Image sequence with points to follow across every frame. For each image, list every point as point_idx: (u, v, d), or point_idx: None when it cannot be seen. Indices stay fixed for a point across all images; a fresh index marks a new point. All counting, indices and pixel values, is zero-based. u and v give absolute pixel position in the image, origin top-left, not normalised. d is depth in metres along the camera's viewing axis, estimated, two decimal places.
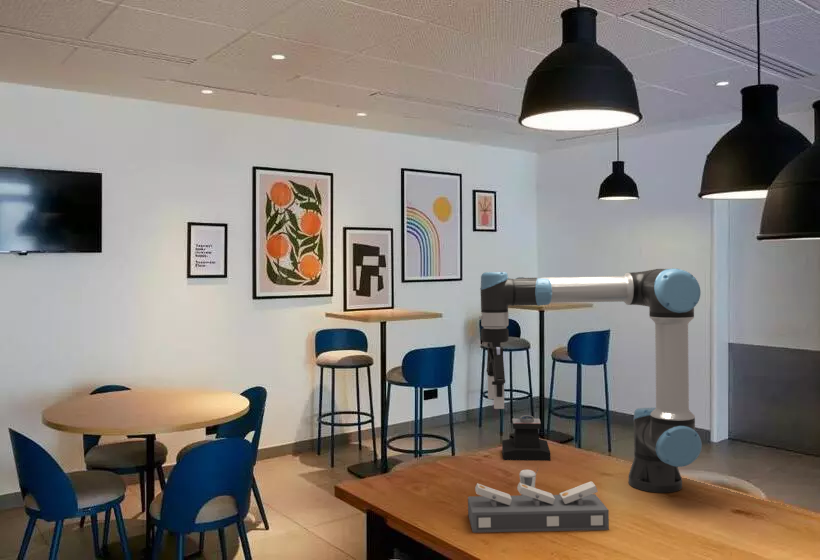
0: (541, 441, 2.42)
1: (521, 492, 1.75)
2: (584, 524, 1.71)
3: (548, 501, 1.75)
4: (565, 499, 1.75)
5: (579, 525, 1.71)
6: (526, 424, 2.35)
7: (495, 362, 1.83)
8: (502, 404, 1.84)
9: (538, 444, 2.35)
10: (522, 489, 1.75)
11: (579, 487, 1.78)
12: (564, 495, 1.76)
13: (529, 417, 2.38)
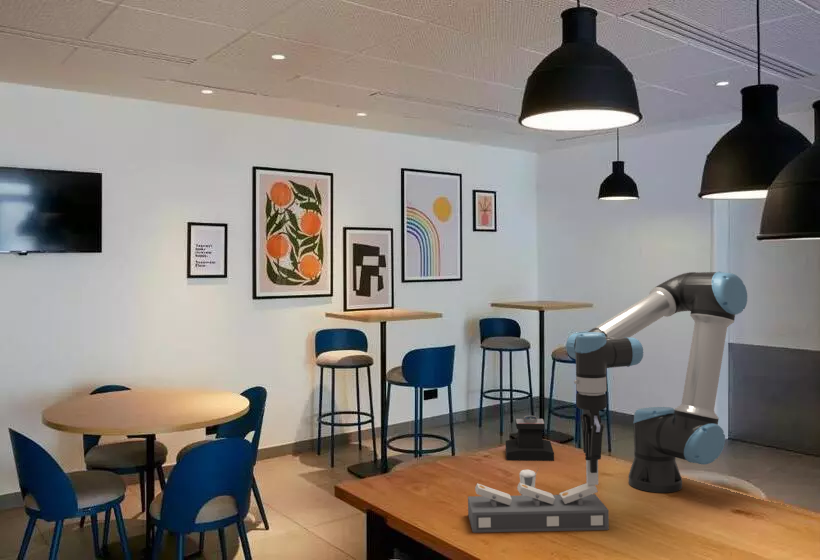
0: (545, 441, 2.42)
1: (521, 492, 1.75)
2: (584, 524, 1.71)
3: (548, 501, 1.75)
4: (565, 499, 1.75)
5: (579, 525, 1.71)
6: (530, 424, 2.35)
7: (593, 440, 1.72)
8: (596, 480, 1.76)
9: (542, 444, 2.34)
10: (522, 489, 1.75)
11: (579, 487, 1.78)
12: (564, 495, 1.76)
13: (533, 417, 2.37)
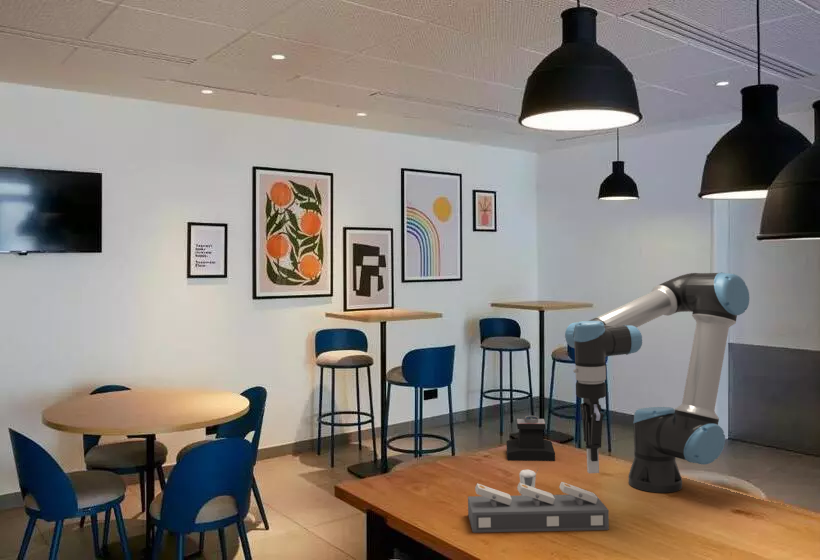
0: (546, 441, 2.42)
1: (521, 492, 1.75)
2: (584, 524, 1.71)
3: (548, 501, 1.75)
4: (566, 488, 1.75)
5: (579, 525, 1.71)
6: (531, 424, 2.35)
7: (593, 428, 1.72)
8: (597, 468, 1.76)
9: (543, 444, 2.34)
10: (522, 489, 1.75)
11: (581, 489, 1.78)
12: (566, 485, 1.76)
13: (533, 417, 2.37)
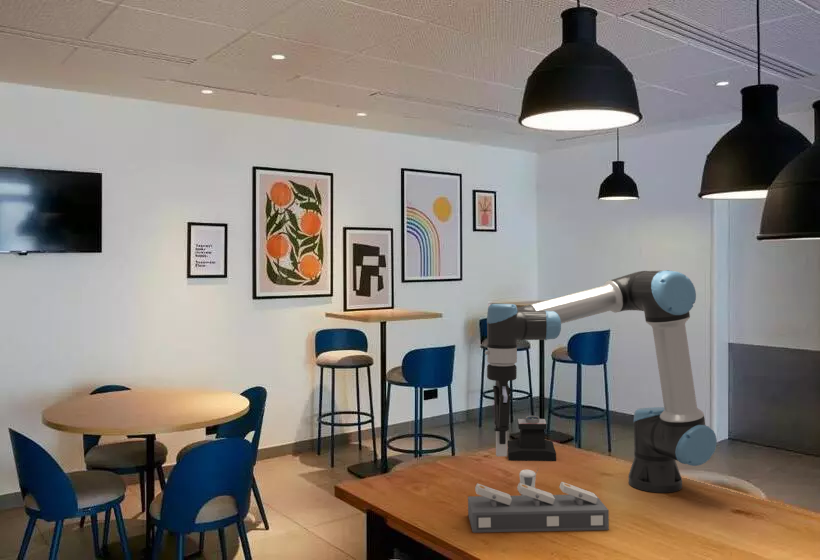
0: (547, 441, 2.42)
1: (521, 492, 1.75)
2: (584, 524, 1.71)
3: (548, 501, 1.75)
4: (566, 488, 1.75)
5: (579, 525, 1.71)
6: (532, 424, 2.34)
7: (500, 410, 1.71)
8: (505, 451, 1.76)
9: (544, 444, 2.34)
10: (522, 489, 1.75)
11: (581, 489, 1.78)
12: (566, 485, 1.76)
13: (535, 417, 2.37)
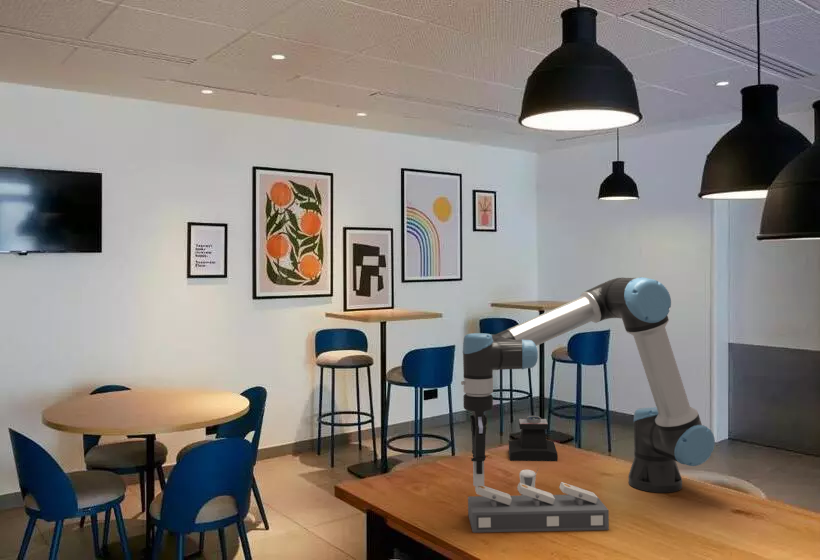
0: (548, 441, 2.41)
1: (521, 492, 1.75)
2: (584, 524, 1.71)
3: (548, 501, 1.75)
4: (566, 489, 1.75)
5: (579, 525, 1.71)
6: (533, 424, 2.34)
7: (476, 441, 1.72)
8: (482, 481, 1.76)
9: (545, 445, 2.34)
10: (522, 489, 1.75)
11: (581, 489, 1.78)
12: (566, 485, 1.76)
13: (536, 417, 2.37)
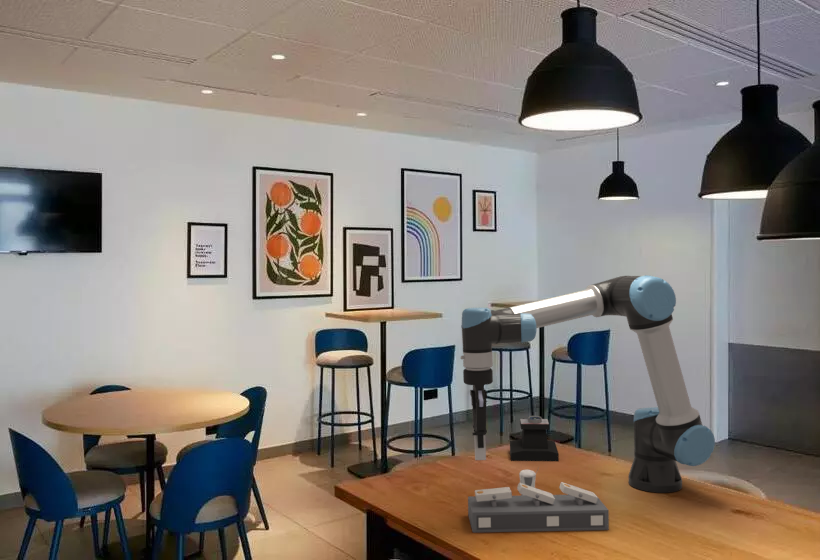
0: (549, 441, 2.41)
1: (521, 492, 1.75)
2: (584, 524, 1.71)
3: (548, 501, 1.75)
4: (566, 489, 1.75)
5: (579, 525, 1.71)
6: (534, 425, 2.34)
7: (477, 415, 1.72)
8: (484, 455, 1.76)
9: (546, 445, 2.34)
10: (522, 489, 1.75)
11: (581, 489, 1.78)
12: (566, 485, 1.76)
13: (537, 417, 2.37)
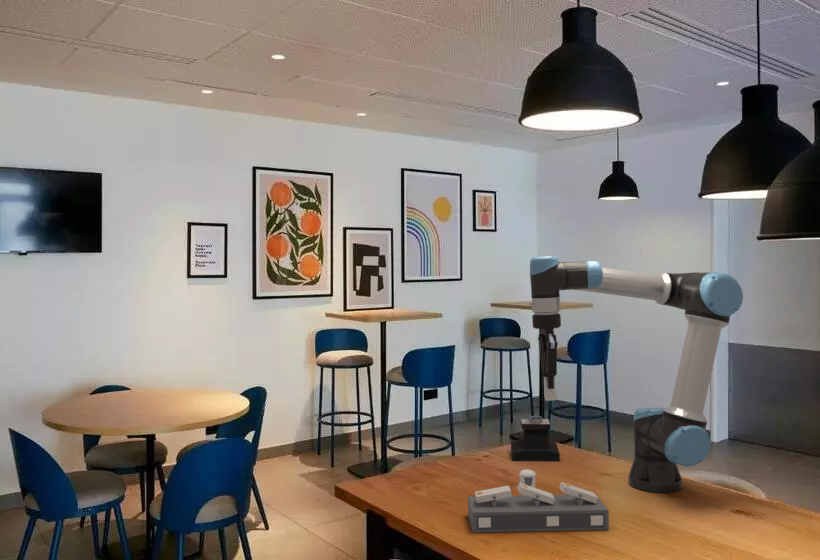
0: (550, 441, 2.41)
1: (521, 492, 1.75)
2: (584, 524, 1.71)
3: (548, 501, 1.75)
4: (566, 489, 1.75)
5: (579, 525, 1.71)
6: (535, 425, 2.34)
7: (548, 356, 1.81)
8: (553, 396, 1.85)
9: (547, 445, 2.34)
10: (522, 489, 1.75)
11: (581, 489, 1.78)
12: (566, 485, 1.76)
13: (538, 418, 2.37)
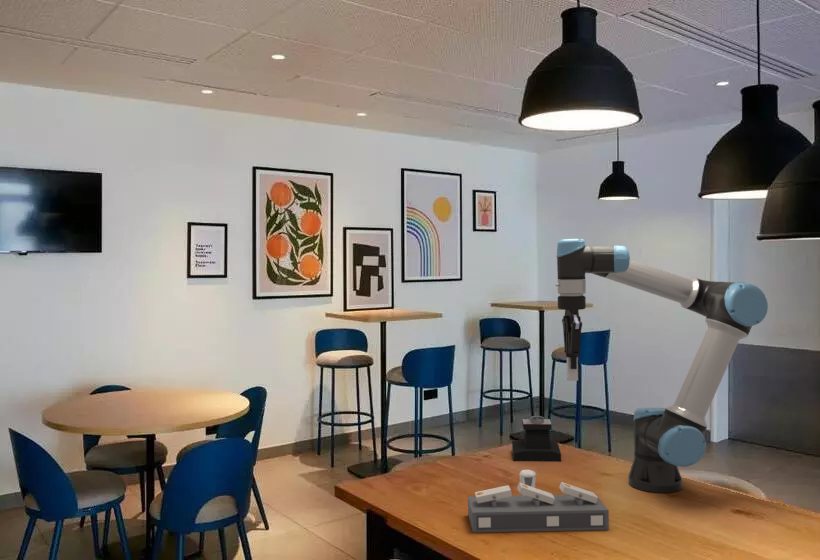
0: (551, 441, 2.41)
1: (521, 492, 1.75)
2: (584, 524, 1.71)
3: (548, 501, 1.75)
4: (566, 489, 1.75)
5: (579, 525, 1.71)
6: (536, 425, 2.34)
7: (572, 336, 1.84)
8: (576, 376, 1.89)
9: (549, 445, 2.33)
10: (522, 489, 1.75)
11: (581, 489, 1.78)
12: (566, 485, 1.76)
13: (539, 418, 2.37)
